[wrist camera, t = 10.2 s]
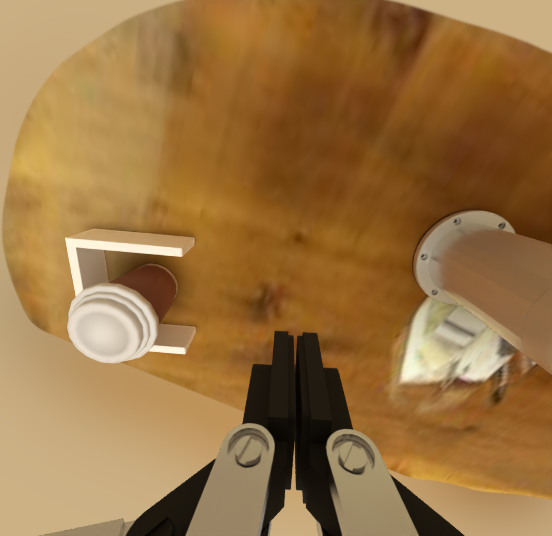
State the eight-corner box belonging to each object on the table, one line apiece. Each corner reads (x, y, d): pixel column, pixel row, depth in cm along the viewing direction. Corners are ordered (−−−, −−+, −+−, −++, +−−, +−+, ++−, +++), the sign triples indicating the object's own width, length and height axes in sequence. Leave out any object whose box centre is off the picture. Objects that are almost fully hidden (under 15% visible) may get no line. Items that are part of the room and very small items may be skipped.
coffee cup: (149, 323, 40) (99, 385, 29) (108, 273, 37) (34, 319, 26) (200, 296, 39) (168, 350, 27) (161, 241, 36) (106, 276, 25)
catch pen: (194, 237, 36) (181, 248, 31) (196, 332, 41) (185, 354, 36) (93, 228, 35) (65, 237, 31) (107, 325, 40) (85, 345, 36)
